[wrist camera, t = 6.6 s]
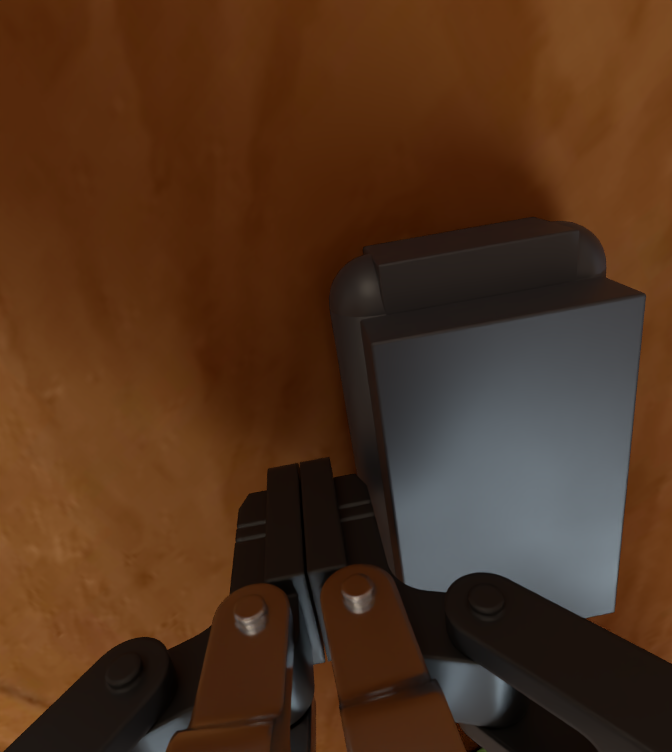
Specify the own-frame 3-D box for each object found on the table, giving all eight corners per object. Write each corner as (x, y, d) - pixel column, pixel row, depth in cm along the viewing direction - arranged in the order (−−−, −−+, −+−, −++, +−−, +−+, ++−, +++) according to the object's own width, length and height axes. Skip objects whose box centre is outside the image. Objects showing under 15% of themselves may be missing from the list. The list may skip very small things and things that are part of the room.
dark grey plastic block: (318, 253, 12) (332, 293, 9) (577, 208, 12) (681, 230, 9) (373, 580, 16) (396, 685, 13) (563, 542, 16) (631, 637, 13)
